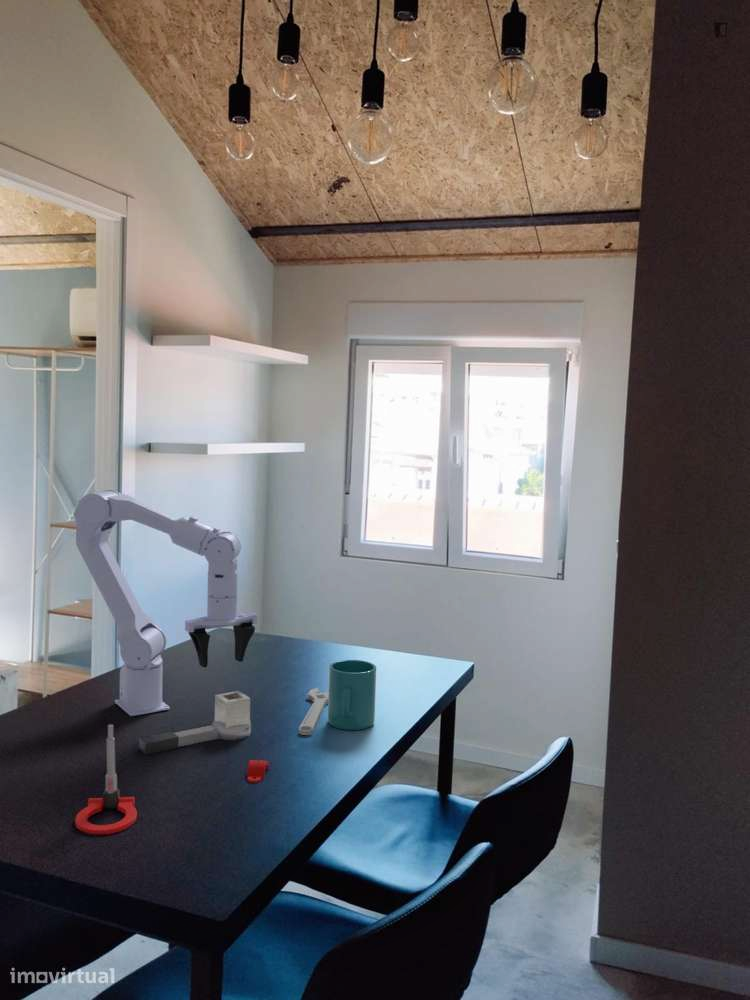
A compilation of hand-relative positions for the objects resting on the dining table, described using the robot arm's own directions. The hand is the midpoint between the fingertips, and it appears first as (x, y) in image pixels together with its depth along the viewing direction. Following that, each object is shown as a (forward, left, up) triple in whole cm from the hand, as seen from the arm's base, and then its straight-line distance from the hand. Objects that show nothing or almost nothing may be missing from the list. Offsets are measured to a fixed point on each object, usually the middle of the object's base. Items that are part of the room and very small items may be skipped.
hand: (221, 663), depth 167 cm
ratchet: (+11, -10, -10) cm, 18 cm away
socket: (+11, -3, -8) cm, 14 cm away
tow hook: (+32, -33, -10) cm, 47 cm away
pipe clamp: (+29, -7, -10) cm, 32 cm away
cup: (+19, +18, -10) cm, 28 cm away
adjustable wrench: (+9, +16, -10) cm, 21 cm away
